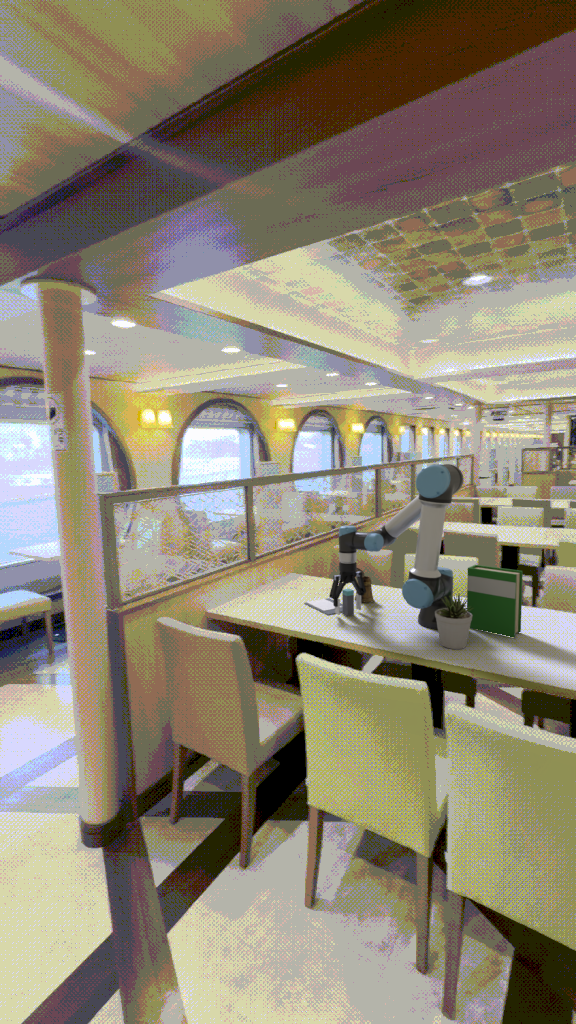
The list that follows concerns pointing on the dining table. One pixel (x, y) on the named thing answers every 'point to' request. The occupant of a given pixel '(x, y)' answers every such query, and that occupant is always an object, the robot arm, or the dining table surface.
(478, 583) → the hardback book
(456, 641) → the potted plant
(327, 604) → the writing mat
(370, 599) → the wooden mug
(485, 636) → the dining table surface
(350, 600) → the marker
